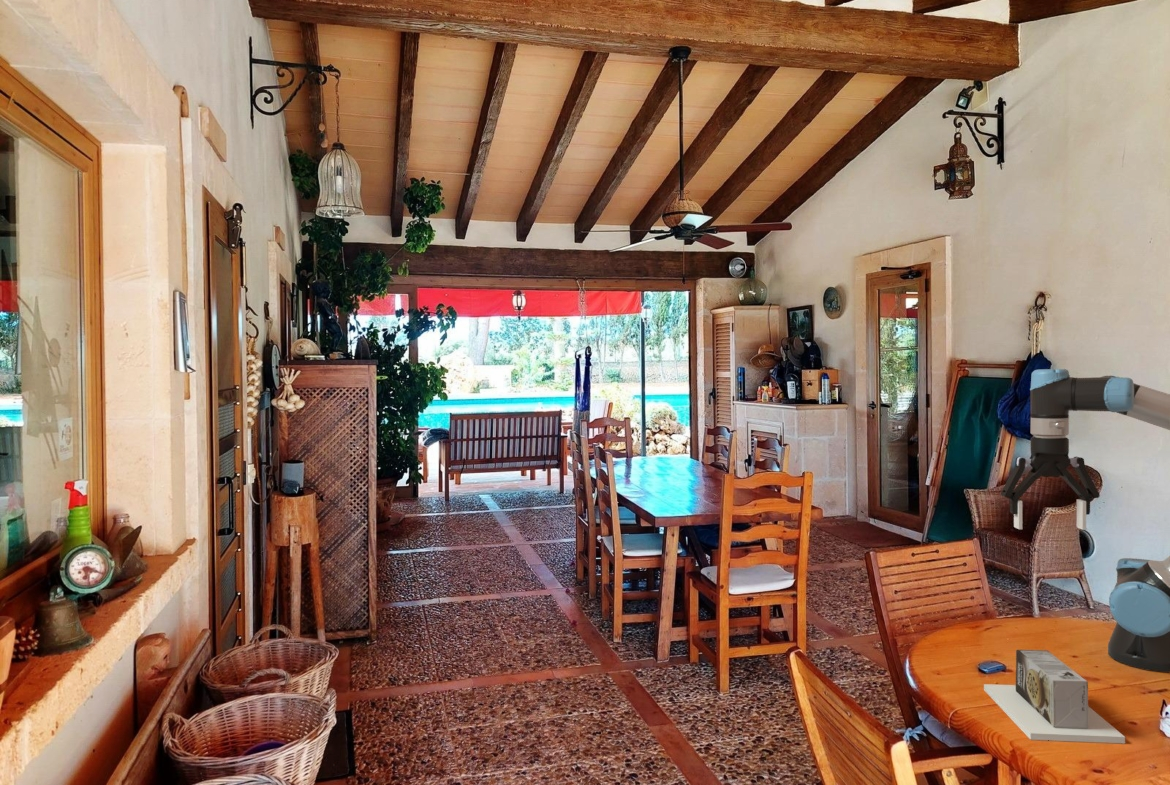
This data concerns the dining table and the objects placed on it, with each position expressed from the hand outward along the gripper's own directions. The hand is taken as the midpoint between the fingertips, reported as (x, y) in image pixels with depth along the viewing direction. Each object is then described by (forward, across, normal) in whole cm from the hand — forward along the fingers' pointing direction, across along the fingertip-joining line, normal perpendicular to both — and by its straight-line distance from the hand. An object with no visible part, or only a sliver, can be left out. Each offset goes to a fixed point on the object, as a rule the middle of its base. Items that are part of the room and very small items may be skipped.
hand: (1049, 528), depth 177 cm
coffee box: (+25, -13, -38) cm, 47 cm away
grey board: (+31, -13, -29) cm, 44 cm away
